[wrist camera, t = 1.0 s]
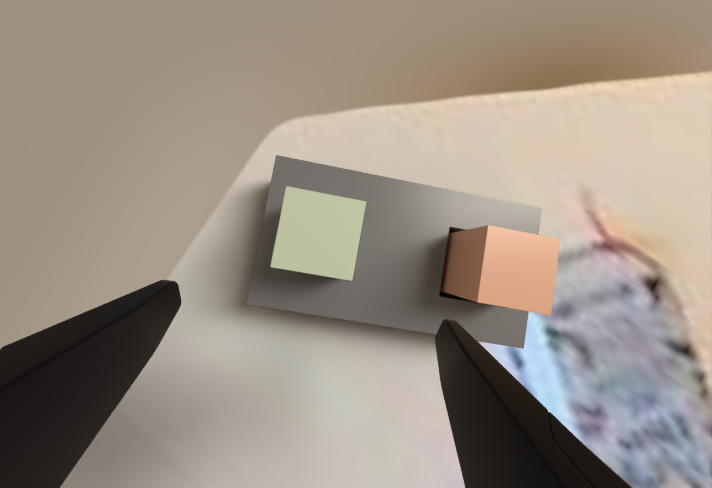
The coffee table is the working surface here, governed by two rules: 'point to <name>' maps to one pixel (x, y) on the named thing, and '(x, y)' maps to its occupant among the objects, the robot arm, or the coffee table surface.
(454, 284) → the terracotta key
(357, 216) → the sage key
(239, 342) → the coffee table surface
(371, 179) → the keypad
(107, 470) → the coffee table surface
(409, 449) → the coffee table surface
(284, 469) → the coffee table surface
